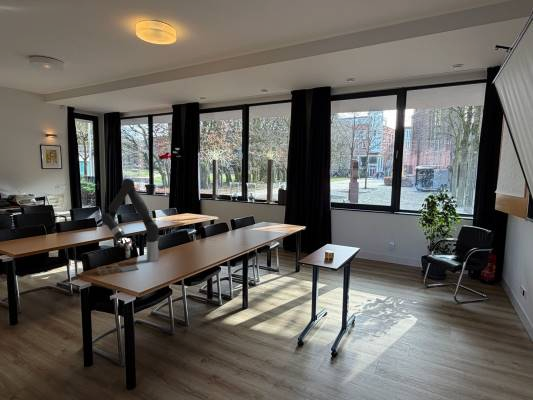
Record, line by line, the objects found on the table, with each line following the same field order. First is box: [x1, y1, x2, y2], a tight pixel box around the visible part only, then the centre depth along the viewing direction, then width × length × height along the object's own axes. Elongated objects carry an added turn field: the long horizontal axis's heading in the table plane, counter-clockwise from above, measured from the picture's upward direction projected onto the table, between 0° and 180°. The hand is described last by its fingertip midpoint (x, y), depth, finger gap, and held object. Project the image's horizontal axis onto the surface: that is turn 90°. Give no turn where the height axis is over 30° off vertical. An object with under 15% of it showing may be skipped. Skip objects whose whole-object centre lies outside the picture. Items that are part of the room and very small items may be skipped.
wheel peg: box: [125, 241, 131, 259], centre depth 246 cm, size 4×4×12 cm
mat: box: [119, 264, 139, 273], centre depth 247 cm, size 12×12×1 cm
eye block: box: [96, 263, 121, 276], centre depth 240 cm, size 14×12×4 cm
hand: (129, 250), depth 245 cm, fingers closed on wheel peg, 3 cm apart
